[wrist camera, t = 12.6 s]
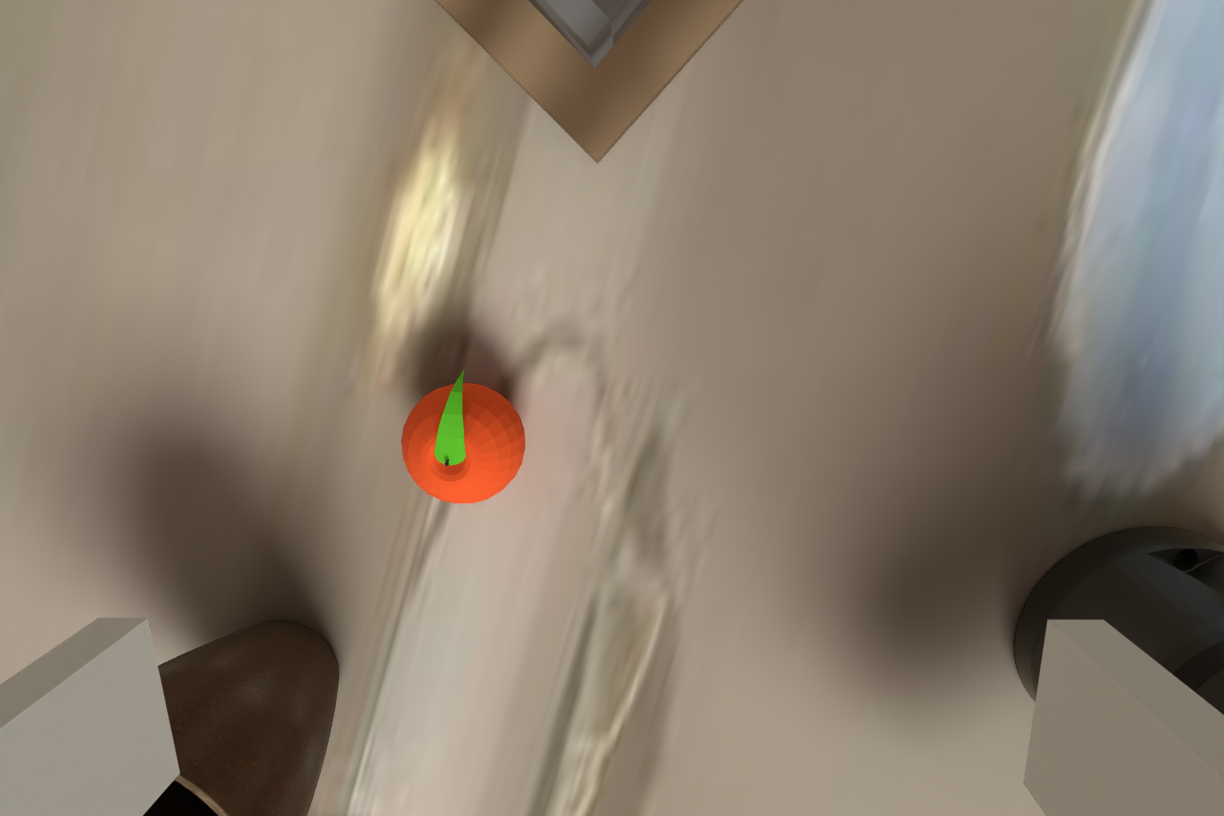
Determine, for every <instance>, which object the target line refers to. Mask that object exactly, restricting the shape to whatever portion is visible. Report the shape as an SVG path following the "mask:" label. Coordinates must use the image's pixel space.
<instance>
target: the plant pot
mask: <svg viewBox="0 0 1224 816" xmlns="http://www.w3.org/2000/svg"><path fill="white" fill-rule="evenodd" d="M158 669H159V674H160V679H161V684H162V689H163V694H164V698H165V703H166V708H167V713H168V718H169V722H170V727H171V732H172V737H173V742H174V747H175V751H176V756H177V761H178V766H179V771H180V774H179V775H178V776H177V777H176V778H175V779H174V781H173V782H172V783H171V784H170V785H169V786H168V787H167V789H166V790H165V791H164V792H163V793H162V794H161V795H160V796H159V798H158V799H157V800H156V801H155V802H154V803H153V804H152V806H151V807H150V808H149V809H148V810H147V811H146V812H145V814H144V815H143V816H307V814H308V811H309V808H310V806H311V802H312V799H313V796H314V793H315V789H316V786H317V783H318V780H319V776H320V773H321V769H322V765H323V761H324V758H325V754H326V750H327V745H328V741H329V737H330V732H331V727H332V722H333V717H334V712H335V706H336V699H337V692H338V683H339V668H338V664H337V661H336V658H335V656H334V654H333V652H332V650H331V649H330V647H329V646H328V645H327V643H326V642H325V641H324V640H323V639H322V638H321V637H320V636H318V635H317V634H316V633H314V632H313V631H311V630H310V629H308V628H306V627H303V626H301V625H298V624H294V623H291V622H284V621H273V622H267V623H263V624H260V625H257V626H254V627H251V628H248V629H245V630H242V631H239V632H236V633H233V634H231V635H228V636H225V637H223V638H220V639H218V640H215V641H213V642H210V643H208V644H205V645H203V646H200V647H198V648H196V649H193V650H191V651H189V652H187V653H184V654H182V655H180V656H178V657H176V658H174V659H171V660H169V661H167V662H165V663H163V664H161V665H159V666H158Z"/></svg>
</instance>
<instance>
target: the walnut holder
mask: <svg viewBox="0 0 1224 816" xmlns="http://www.w3.org/2000/svg"><path fill="white" fill-rule="evenodd" d="M435 1H436V2H437V3H438V4H439V5H440V6H441V7H442V8H443V9H444V10H445V11H446V12H447V13H448V14H449V15H450V16H451V17H452V18H453V19H454V20H455V21H456V22H457V23H458V24H459V25H460V26H461V27H462V28H463V29H464V30H465V31H466V32H467V33H468V34H469V35H470V36H471V37H472V38H473V39H474V40H475V41H476V42H477V43H478V44H479V45H480V46H481V47H482V48H483V49H484V50H485V51H486V52H487V53H488V54H489V55H490V56H491V57H492V58H493V59H494V60H495V61H496V62H497V63H498V64H499V65H500V66H501V67H502V68H503V69H504V70H505V71H506V72H507V73H508V74H509V75H510V76H511V77H512V78H513V79H514V80H515V81H516V82H517V83H518V84H519V85H520V86H521V87H522V88H523V89H524V90H525V91H526V92H527V93H528V94H529V95H530V96H531V97H532V98H533V99H534V100H535V101H536V102H537V103H538V104H539V105H540V106H541V107H542V108H543V109H544V110H545V111H546V112H547V113H548V114H549V115H550V116H551V117H552V118H553V119H554V120H555V121H556V122H557V123H558V124H559V125H560V126H561V127H562V128H563V129H564V130H565V131H566V132H567V133H568V134H569V135H570V136H571V137H572V138H573V139H574V140H575V141H576V142H577V143H578V144H579V145H580V146H581V147H582V148H583V149H584V150H585V151H586V152H587V153H588V154H589V155H590V156H591V157H592V158H593V159H594V160H595V161H596V162H597V163H598V162H599V161H600V160H601V159H602V158H603V157H604V156H605V154H606V153H607V152H608V151H609V150H610V149H611V148H612V147H613V145H614V144H615V143H616V142H617V141H618V140H619V139H620V138H621V136H622V135H623V134H624V133H625V132H626V131H627V130H628V129H629V127H630V126H631V125H632V124H633V123H634V122H635V121H636V120H637V119H638V117H639V116H640V115H641V114H642V113H643V112H644V111H645V110H646V108H647V107H648V106H649V105H650V104H651V103H652V102H653V101H654V99H655V98H656V97H657V96H658V95H659V94H660V93H661V92H662V90H663V89H664V88H665V87H666V86H667V85H668V84H669V83H670V82H671V80H672V79H673V78H674V77H675V76H676V75H677V74H678V73H679V71H680V70H681V69H682V68H683V67H684V66H685V65H686V64H687V62H688V61H689V60H690V59H691V58H692V57H693V56H694V55H695V54H696V52H697V51H698V50H699V49H700V48H701V47H702V46H703V45H704V43H705V42H706V41H707V40H708V39H709V38H710V37H711V36H712V34H713V33H714V32H715V31H716V30H717V29H718V28H719V27H720V25H721V24H722V23H723V22H724V21H725V20H726V19H727V18H728V17H729V15H730V14H731V13H732V12H733V11H734V10H735V9H736V8H737V6H738V5H739V4H740V3H741V2H742V1H743V0H435Z"/></svg>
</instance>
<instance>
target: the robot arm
mask: <svg viewBox="0 0 1224 816" xmlns="http://www.w3.org/2000/svg"><path fill="white" fill-rule="evenodd" d="M1015 659H1016V665H1017V669H1018V672H1019V676H1020V678H1021V681H1022V683H1023V685H1024V687H1025V689H1026V690H1027V692H1028V693H1029V695H1030V696H1031V698H1032V699H1033V700H1034V701H1035V709H1034V716H1033V722H1032V729H1031V736H1030V743H1029V750H1028V756H1027V763H1026V770H1025V777H1024V785H1025V786H1026V788H1027V789H1028V791H1029V792H1030V793H1031V795H1032V796H1033V797H1034V799H1035V800H1036V802H1037V803H1038V804H1039V806H1040V807H1041V809H1042V810H1043V811H1044V813H1045V814H1046V815H1047V816H1224V546H1223V545H1221V544H1219V543H1218V542H1216V541H1214V540H1212V539H1209V538H1207V537H1205V536H1203V535H1200V534H1197V533H1194V532H1190V531H1187V530H1182V529H1176V528H1167V527H1145V528H1136V529H1130V530H1125V531H1121V532H1117V533H1113V534H1110V535H1107V536H1104V537H1102V538H1099V539H1097V540H1094V541H1092V542H1090V543H1088V544H1086V545H1084V546H1082V547H1081V548H1079V549H1077V550H1076V551H1074V552H1073V553H1071V554H1069V555H1068V556H1067V557H1065V558H1064V559H1063V560H1061V561H1060V562H1059V563H1058V564H1057V565H1055V566H1054V567H1053V568H1052V569H1051V570H1050V571H1049V572H1048V573H1047V574H1046V575H1045V576H1044V578H1043V579H1042V580H1041V581H1040V582H1039V584H1038V585H1037V586H1036V588H1035V589H1034V590H1033V592H1032V593H1031V595H1030V597H1029V598H1028V600H1027V602H1026V604H1025V606H1024V608H1023V611H1022V613H1021V616H1020V619H1019V622H1018V626H1017V630H1016V637H1015ZM179 774H180V771H179V766H178V761H177V756H176V751H175V747H174V742H173V737H172V732H171V727H170V722H169V718H168V713H167V708H166V703H165V698H164V694H163V689H162V684H161V679H160V674H159V669H158V665H157V660H156V655H155V650H154V645H153V641H152V636H151V631H150V626H149V621H148V618H98V619H96V620H95V621H93V622H92V623H90V624H89V625H88V626H86V627H85V628H83V629H82V630H80V631H79V632H77V633H76V634H74V635H73V636H71V637H70V638H68V639H67V640H65V641H64V642H62V643H61V644H60V645H58V646H57V647H55V648H54V649H52V650H51V651H49V652H48V653H46V654H45V655H43V656H42V657H40V658H39V659H37V660H36V661H34V662H33V663H32V664H30V665H29V666H27V667H26V668H24V669H23V670H21V671H20V672H18V673H17V674H15V675H14V676H12V677H11V678H9V679H8V680H7V681H5V682H4V683H2V684H1V685H0V816H143V815H144V814H145V812H146V811H147V810H148V809H149V808H150V807H151V806H152V804H153V803H154V802H155V801H156V800H157V799H158V798H159V796H160V795H161V794H162V793H163V792H164V791H165V790H166V789H167V787H168V786H169V785H170V784H171V783H172V782H173V781H174V779H175V778H176V777H177V776H178V775H179Z"/></svg>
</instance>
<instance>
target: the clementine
mask: <svg viewBox="0 0 1224 816" xmlns="http://www.w3.org/2000/svg"><path fill="white" fill-rule="evenodd" d="M464 371H465V369H464V370H463V372H462V373H461V375H460V376H459V377H458V379H457V381H456V383H455V384H451V385H448V386H444V387H441V388H438V389H435V390H434V391H432V392H431V393H429V394H428V395H426V396H424V397H423V398H422V399H421V400H420V402H419V403H418V404H417V405H416V406H415V407H414V408H413V410H412V411H411V413H410V414H409V416H408V419H407V421H406V423H405V425H404V428H403V434H402V440H401V443H402V452H403V459H404V462H405V464H406V467H407V469H408V472H409V474H410V475H411V477H412V478H413V479H414V481H415V482H416V484H417V485H418V486H420V487H421V488H422V489H423V490H424V491H425V492H427V493H428V494H430V495H432V496H434V497H436V498H438V499H440V500H443V501H447V502H451V503H475V502H479V501H483V500H486V499H489V498H490V497H492V496H494V495H495V494H497V493H499V492H500V491H501V490H503V489H504V488H505V487H506V486H507V485H508V484H509V483H510V481H511V480H512V479H513V478H514V477H515V476H516V474H517V472H518V470H519V468H520V466H521V464H522V460H523V455H524V451H525V433H524V428H523V425H522V422H521V419H520V416H519V415H518V413H517V412H516V410H515V409H514V407H513V406H512V404H511V403H510V402H509V401H508V400H506V399H505V398H504V397H503V396H502V395H501V394H500V393H498V392H496V391H494V390H492V389H490V388H488V387H486V386H482V385H478V384H474V383H463V377H464Z"/></svg>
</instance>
